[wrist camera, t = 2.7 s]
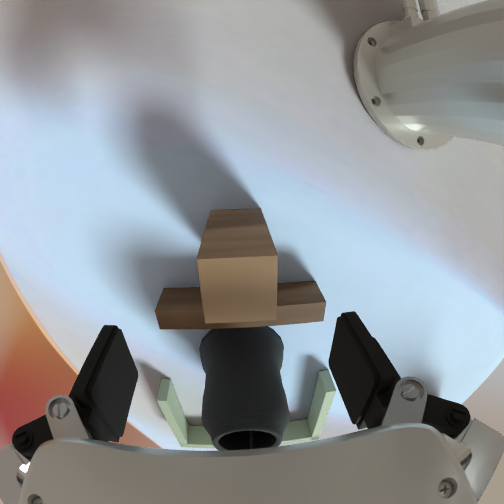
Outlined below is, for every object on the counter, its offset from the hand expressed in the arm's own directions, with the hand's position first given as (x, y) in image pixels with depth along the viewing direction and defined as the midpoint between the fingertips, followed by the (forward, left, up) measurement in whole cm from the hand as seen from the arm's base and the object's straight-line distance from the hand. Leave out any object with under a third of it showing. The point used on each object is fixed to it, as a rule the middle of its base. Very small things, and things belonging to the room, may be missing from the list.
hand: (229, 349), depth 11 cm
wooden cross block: (+2, +1, -13) cm, 13 cm away
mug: (+15, +1, -13) cm, 20 cm away
